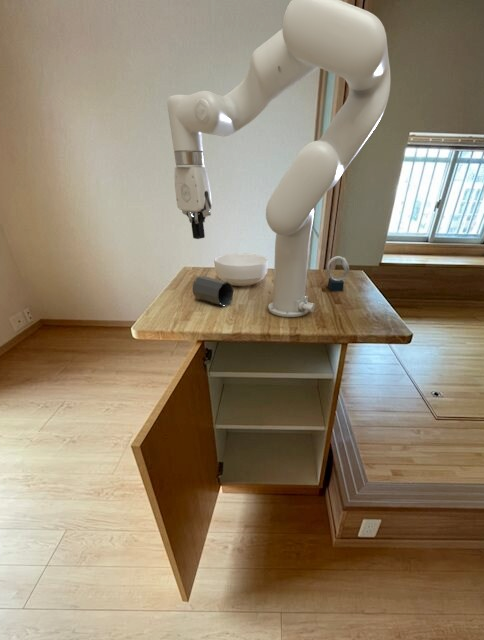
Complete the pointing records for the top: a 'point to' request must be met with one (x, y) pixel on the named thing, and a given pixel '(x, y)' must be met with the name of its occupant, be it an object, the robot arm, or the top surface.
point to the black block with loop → (337, 283)
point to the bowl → (241, 268)
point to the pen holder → (213, 290)
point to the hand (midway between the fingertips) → (199, 238)
